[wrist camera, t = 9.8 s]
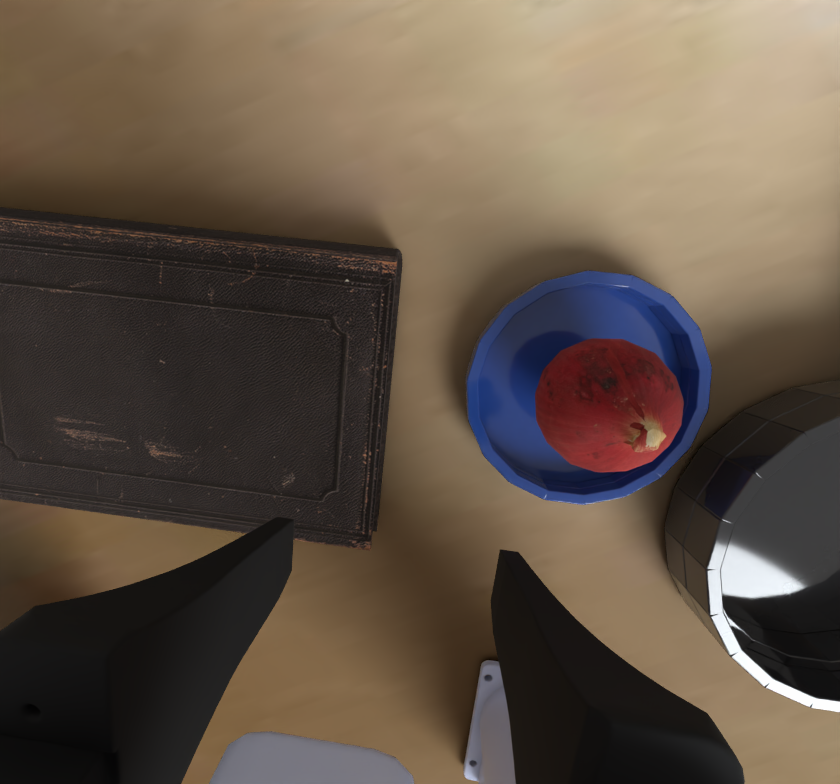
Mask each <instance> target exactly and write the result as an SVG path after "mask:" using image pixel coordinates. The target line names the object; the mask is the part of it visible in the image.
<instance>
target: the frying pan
mask: <svg viewBox="0 0 840 784" xmlns="http://www.w3.org/2000/svg"><path fill="white" fill-rule="evenodd" d="M664 527H665V528H664V533H665V543H666V553H667V564H668V570H669V571H670V573H671V575H672V577H673V579H674V581H675V583H676V585H677V587H678V589H679V591H680V593H681V595H682V597H683V599H684V601H685V603H686V604H687V605H688V606H689V607H690V609H691V610H692V611H693V612H694V613H695V615H696V616H697V617H698V618H699V620H700V621H701V622H702V623H703V624H704V626H705V627H706V628H707V629H708V630H709V632H710V633H711V634H712V635H713V636H714V638H715V639H716V640H717V641H718V643H719V644H720V645H721V646H722V647H723V649H724V650H725V651H726V652H727V653H728V655H729V656H730V657H731V658H732V659H733V660H734V661H736V662H737V663H738V664H739V665H740V666H741V667H742V668H743V669H744V670H745V671H747V672H748V673H749V674H750V675H751V676H752V677H753V678H754V679H755V680H756V681H758V682H759V683H760V684H761V685H762V686H764V687H765V688H767V689H769V690H772V691H774V692H776V693H778V694H780V695H783V696H785V697H787V698H789V699H792V700H794V701H796V702H798V703H801V704H803V705H805V706H807V707H810V708H815V709H822V710H829V711H835V712H840V380H834V381H828V382H823V383H817V384H811V385H805V386H800V387H794V388H792V389H788V390H786V391H784V392H782V393H780V394H778V395H775V396H773V397H771V398H769V399H767V400H765V401H763V402H761V403H758V404H756V405H754V406H752V407H750V408H748V409H746V410H743V411H742V412H741V413H739V414H738V415H737V416H736V417H734V418H733V419H732V420H731V421H730V422H729V423H727V424H726V425H725V426H724V427H723V428H721V429H720V430H719V431H718V432H717V433H716V434H714V435H713V436H712V437H711V438H710V439H709V440H707V441H706V442H705V443H704V444H703V446H701V447H700V449H699V450H698V452H697V453H696V455H695V456H694V458H693V459H692V461H691V462H690V464H689V465H688V467H687V468H686V470H685V472H684V473H683V475H682V476H681V478H680V479H679V481H678V482H677V484H676V486H675V488H674V492H673V496H672V500H671V503H670V507H669V511H668V515H667V518H666V522H665V526H664Z"/></svg>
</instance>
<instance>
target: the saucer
mask: <svg viewBox="0 0 840 784" xmlns="http://www.w3.org/2000/svg"><path fill="white" fill-rule="evenodd" d="M593 338H596V339H624V340H626V341H629V342H631V343H633V344H635V345H638V346H640V347H642V348H645V349H647V350H649V351H651V352H654V353H656V355H657V356H658V357H659V358H660V359H661V360H662V361H663V363H664V364H665V365H666V366H667V367H668V368H669V370H670V371H671V372H672V373H673V374H674V375H675V376H676V378H677V381H678V384H679V387H680V390H681V393H682V396H683V401H684V406H683V415H682V424H681V427H680V428H679V430H678V432H677V433H676V435H675V437H674V439H673V440H672V442H671V444H670V445H669V446H668V447H667V448H666V449H665V450H664V451H663V452H662V453H661V454H660V455H659V456H657V457H656V458H655V459H654V460H653V461H652V462H649V463H647V464H644V465H642V466H639V467H636V468H634V469H631V470H628V471H620V472H594V471H591V470H588V469H585V468H582V467H578V466H575V465H572V464H570V463H569V462H568V461H566V460H565V459H564V458H563V457H562V456H561V455H560V454H559V453H558V452H557V451H556V450H555V449H554V448H552V447H551V446H550V445H549V444H548V443H547V442H546V440H545V438H544V435H543V433H542V431H541V429H540V427H539V425H538V423H537V421H536V406H535V392H536V389H537V386H538V383H539V380H540V377H541V374H542V371H543V369H544V368H545V367H546V366H547V365H548V364H549V363H550V362H551V361H552V360H553V358H554V357H555V356H556V355H557V354H558V353H559V352H560V351H561V350H563V349H566V348H568V347H570V346H573V345H575V344H577V343H580V342H582V341H584V340H587V339H593ZM711 372H712V366H711V363H710V360H709V356H708V353H707V350H706V347H705V343H704V340H703V337H702V334H701V330H700V328H699V327H698V325H697V324H696V323H695V322H694V321H693V319H692V318H691V317H690V316H689V315H688V313H687V312H686V311H685V310H684V309H683V308H682V306H681V305H680V304H679V303H678V302H677V300H676V299H675V298H674V297H673V296H671V294H669V293H667V292H665V291H663V290H661V289H659V288H657V287H655V286H653V285H651V284H650V283H648V282H646V281H644V280H642V279H640V278H638V277H636V276H633V275H629V274H619V273H610V272H600V271H591V270H589V271H583V272H579V273H575V274H571V275H567V276H563V277H559V278H555V279H551V280H547V281H544V282H540V283H538V284H535V285H534V286H532V287H531V288H529V289H528V290H526V291H525V292H523V293H521V294H520V295H518V296H517V297H515V298H514V299H513V300H511V301H510V302H508V303H507V304H505V305H504V306H503V307H502V308H500V310H499V311H498V312H497V314H496V315H495V316H494V317H493V318H492V320H491V321H490V322H489V323H488V325H487V326H486V328H485V329H484V331H483V332H482V333H481V335H480V336H479V337H478V340H477V341H476V344H475V347H474V349H473V352H472V355H471V358H470V361H469V365H468V369H467V372H466V377H465V386H466V409H467V416H468V421H469V423H470V426H471V428H472V430H473V433H474V435H475V437H476V440H477V442H478V444H479V447H480V449H481V451H482V454H483V455H484V457H485V458H486V459H487V460H488V461H489V462H490V463H491V464H492V465H493V466H494V467H495V468H496V469H497V470H498V471H499V472H500V473H501V474H502V475H503V476H504V478H505V479H506V480H507V481H508V482H510V483H511V484H513V485H515V486H517V487H519V488H522V489H524V490H526V491H528V492H530V493H532V494H534V495H536V496H538V497H540V498H542V499H545V500H550V501H558V502H565V503H573V504H581V505H583V504H584V505H586V504H591V503H597V502H602V501H608V500H613V499H618V498H623V497H626V496H628V495H630V494H632V493H633V492H635V491H637V490H639V489H641V488H643V487H645V486H647V485H649V484H650V483H652V482H654V481H656V480H658V479H660V477H662V476H663V475H664V474H665V473H666V472H667V471H668V470H669V469H670V468H671V467H672V466H673V465H674V464H675V463H676V462H677V461H678V460H679V459H680V458H681V457H682V456H683V455H684V454H685V453H686V452H687V451H688V449H689V448H690V447H691V445H692V443H693V441H694V439H695V437H696V435H697V433H698V431H699V428H700V426H701V424H702V422H703V420H704V418H705V416H706V414H707V412H708V408H709V396H710V384H711Z"/></svg>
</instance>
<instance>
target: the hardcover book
mask: <svg viewBox="0 0 840 784" xmlns="http://www.w3.org/2000/svg"><path fill="white" fill-rule="evenodd" d="M401 273H402V254H401V252H400V250H399V249H393V248H384V247H374V246H364V245H355V244H345V243H336V242H326V241H317V240H307V239H298V238H288V237H279V236H269V235H260V234H250V233H240V232H231V231H221V230H212V229H202V228H193V227H183V226H174V225H164V224H155V223H145V222H136V221H126V220H116V219H107V218H97V217H88V216H78V215H69V214H59V213H50V212H40V211H31V210H21V209H12V208H2V207H0V499H5V500H12V501H19V502H26V503H33V504H40V505H48V506H55V507H62V508H69V509H76V510H83V511H90V512H98V513H105V514H112V515H119V516H126V517H133V518H140V519H148V520H155V521H162V522H169V523H176V524H183V525H191V526H198V527H205V528H212V529H219V530H226V531H233V532H241V533H249V532H251V531H253V530H254V529H256V528H258V527H260V526H261V525H263V524H265V523H267V522H268V521H270V520H272V519H274V518H276V517H282V518H289V519H294V536H293V540H298V541H305V542H312V543H319V544H326V545H333V546H341V547H348V548H355V549H362V550H369V551H370V550H371V545H372V534H373V531H377V525H378V515H379V504H380V494H381V483H382V473H383V462H384V452H385V441H386V431H387V420H388V410H389V399H390V389H391V378H392V367H393V357H394V346H395V336H396V325H397V315H398V304H399V294H400V283H401Z"/></svg>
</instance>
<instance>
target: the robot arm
mask: <svg viewBox="0 0 840 784" xmlns="http://www.w3.org/2000/svg"><path fill="white" fill-rule="evenodd" d="M293 536H294V519H289V518H282V517H276V518H274V519H272V520H270V521H268V522H267V523H265V524H263V525H261V526H260V527H258V528H256V529H254V530H253V531H251V532H249V533H247V534H246V535H244V536H242V537H240V538H238V539H237V540H235V541H233V542H231V543H229V544H227V545H225V546H223V547H222V548H220V549H218V550H216V551H214V552H212V553H210V554H208V555H206V556H204V557H202V558H199V559H197V560H195V561H193V562H191V563H188V564H186V565H183V566H181V567H179V568H176V569H174V570H171V571H169V572H166V573H163V574H160V575H157V576H154V577H151V578H148V579H145V580H143V581H140V582H137V583H134V584H130V585H127V586H123V587H120V588H116V589H113V590H109V591H105V592H101V593H97V594H93V595H89V596H85V597H80V598H75V599H70V600H65V601H60V602H55V603H50V604H44V605H38V606H35V607H33V608H32V609H30V610H29V611H28V612H26V613H25V614H23V615H22V616H21V617H19V618H18V619H16V620H15V621H14V622H12V623H11V624H9V625H8V626H7V627H5V628H4V629H2V630H1V631H0V784H181V783H182V780H183V778H184V776H185V774H186V771H187V769H188V767H189V765H190V763H191V760H192V758H193V756H194V754H195V752H196V749H197V747H198V745H199V743H200V741H201V739H202V737H203V735H204V732H205V730H206V728H207V726H208V724H209V722H210V720H211V718H212V716H213V714H214V712H215V709H216V707H217V705H218V703H219V701H220V699H221V697H222V695H223V693H224V691H225V689H226V687H227V685H228V683H229V681H230V679H231V677H232V675H233V673H234V672H235V670H236V668H237V666H238V665H239V663H240V661H241V659H242V658H243V656H244V655H245V653H246V651H247V650H248V648H249V646H250V645H251V643H252V642H253V640H254V638H255V637H256V635H257V634H258V632H259V630H260V629H261V627H262V625H263V624H264V622H265V621H266V619H267V617H268V616H269V614H270V612H271V611H272V609H273V607H274V606H275V604H276V602H277V601H278V599H279V597H280V595H281V593H282V591H283V589H284V587H285V584H286V582H287V580H288V578H289V575H290V573H291V571H292V554H293ZM491 612H492V625H493V634H494V640H495V645H496V650H497V655H498V661H499V662H498V661H492V660H486V661H484V662H483V663H482V664H481V668H480V674H479V680H478V686H477V692H476V698H475V703H474V709H473V715H472V721H471V727H470V733H469V738H468V744H467V750H466V756H465V762H464V776H465V777H466V778H467V779H469V780H474V781H479V784H744V782H745V781H744V775H743V768H742V766H741V764H740V763H739V761H738V759H737V757H736V755H735V754H734V752H733V751H732V749H731V748H730V746H729V745H728V743H727V742H726V740H725V738H724V737H723V735H722V734H721V732H720V731H719V729H718V728H717V726H716V725H715V723H714V722H713V720H712V719H711V718H710V716H709V715H708V713H706V712H704V711H702V710H701V709H699V708H697V707H696V706H694V705H692V704H690V703H689V702H687V701H685V700H684V699H682V698H680V697H679V696H677V695H675V694H673V693H672V692H670V691H668V690H667V689H665V688H664V687H662V686H660V685H659V684H657V683H656V682H654V681H653V680H652V679H650V678H649V677H647V676H646V675H644V674H643V673H641V672H640V671H638V670H637V669H635V668H634V667H633V666H631V665H630V664H629V663H627V662H626V661H625V660H623V659H622V658H621V657H619V656H618V655H617V654H616V653H614V652H613V651H612V650H610V649H609V648H608V647H607V646H605V645H604V644H603V643H602V642H601V641H599V640H598V639H597V638H596V637H595V636H594V635H593V634H592V633H590V632H589V631H588V630H587V629H586V628H585V627H584V626H583V625H582V624H581V623H580V622H579V621H577V620H576V619H575V618H574V617H573V616H572V615H571V614H570V612H569V611H568V610H567V609H566V608H565V607H564V606H563V605H562V604H561V603H560V602H559V601H558V600H557V599H556V598H555V596H554V595H553V594H552V593H551V592H550V591H549V590H548V588H547V587H546V586H545V585H544V584H543V582H542V581H541V580H540V579H539V578H538V576H537V575H536V574H535V573H534V571H533V570H532V569H531V568H530V566H529V565H528V564H527V562H526V561H525V560H524V559H523V557H522V556H521V555H520V554H519V553H518V552H514V551H507V550H501V549H500V553H499V559H498V564H497V570H496V575H495V581H494V586H493V592H492V597H491ZM486 675H490V676H486ZM209 784H414V780H413V776H412V775H411V774H410V773H409V771H408V770H407V769H406V768H405V767H404V766H403V765H402V764H401V763H400V762H399V761H398V760H397V759H396V758H395V757H394V756H391V755H388V754H386V753H383V752H381V751H378V750H376V749H372V748H366V747H360V746H354V745H348V744H342V743H336V742H331V741H325V740H319V739H313V738H307V737H301V736H295V735H289V734H283V733H278V732H272V731H271V732H250V733H247V734H245V735H243V736H242V737H240V738H238V739H237V740H235V741H234V742H232V743H230V744H229V745H228V747H227V749H226V751H225V753H224V755H223V757H222V759H221V761H220V763H219V765H218V767H217V769H216V771H215V773H214V775H213V777H212V779H211V781H210V783H209Z"/></svg>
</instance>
